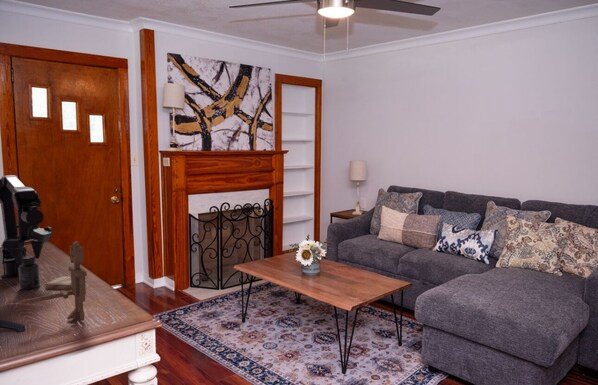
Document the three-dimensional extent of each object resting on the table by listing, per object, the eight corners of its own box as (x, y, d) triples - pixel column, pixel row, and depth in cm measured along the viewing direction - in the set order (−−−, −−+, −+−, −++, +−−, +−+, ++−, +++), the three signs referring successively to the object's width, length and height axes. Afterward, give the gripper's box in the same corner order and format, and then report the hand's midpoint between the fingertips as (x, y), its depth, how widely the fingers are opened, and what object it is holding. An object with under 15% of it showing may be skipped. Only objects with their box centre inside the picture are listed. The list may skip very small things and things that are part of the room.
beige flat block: (45, 290, 167) (45, 283, 167) (62, 282, 177) (62, 275, 177) (70, 291, 166) (69, 284, 166) (85, 283, 176) (85, 276, 176)
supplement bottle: (44, 286, 171) (42, 256, 169) (27, 291, 165) (25, 260, 163) (32, 283, 174) (31, 254, 172) (15, 288, 167) (13, 258, 166)
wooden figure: (22, 324, 134) (16, 244, 131) (84, 310, 146) (80, 237, 143) (30, 340, 123) (25, 253, 121) (97, 323, 135) (93, 244, 132)
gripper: (28, 226, 156) (30, 269, 158) (62, 218, 175) (64, 256, 177) (-1, 226, 158) (2, 268, 159) (36, 217, 176) (38, 255, 178)
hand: (29, 261), depth 168 cm, fingers open, 9 cm apart
